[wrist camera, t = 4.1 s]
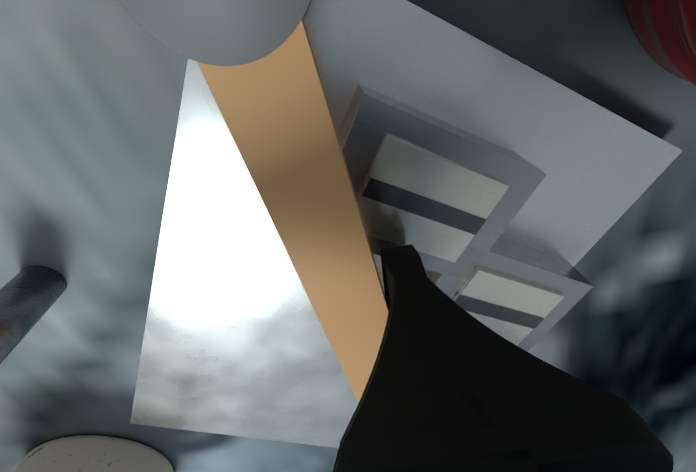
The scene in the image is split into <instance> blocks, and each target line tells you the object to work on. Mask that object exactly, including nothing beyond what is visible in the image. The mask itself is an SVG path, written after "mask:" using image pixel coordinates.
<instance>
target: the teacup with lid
mask: <svg viewBox="0 0 696 472" xmlns="http://www.w3.org/2000/svg"><path fill="white" fill-rule="evenodd" d="M15 472H173V468H172V466H171V464H170V462H169V461H168V460H167V459H166V458H165V457H164V456H163V455H162V454H161V453H159V452H158V451H156V450H154V449H153V448H151V447H148V446H146V445H144V444H141V443H138V442H135V441H131V440H127V439H123V438H117V437H110V436H99V435H81V436H70V437H64V438H59V439H55V440H52V441H49V442H46V443H44V444H42V445H40V446H38V447H36V448H34V449H33V450H31V451H30V452H29V453H28V454H27V455H26V456H25V457H24V458H23V460H22V461H21V463H20V464H19V466H18V467H17V469H16V470H15Z"/></svg>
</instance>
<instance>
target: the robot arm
mask: <svg viewBox="0 0 696 472" xmlns="http://www.w3.org/2000/svg"><path fill="white" fill-rule="evenodd" d="M380 255H381V265H382V274H383V284H384V293H385V298H386V302H387V306H388V310H389V312H388V317H387V322H386V326H385V330H384V334H383V338H382V342H381V345H380V348H379V351H378V354H377V358H376V361H375V363H374V366H373V369H372V372H371V374H370V377H369V379H368V382H367V384H366V387H365V389H364V392H363V394H362V397H361V399H360V401H359V403H358V406H357V408H356V410H355V412H354V414H353V416H352V418H351V420H350V422H349V424H348V426H347V428H346V430H345V432H344V434H343V436H342V438H341V441H340V445H339V449H338V453H337V457H336V461H335V465H334V470H333V472H672V470H673V456H672V454H671V453H670V452H669V451H668V450H667V448H666V447H665V446H664V445H663V443H662V442H661V441H660V440H659V438H658V437H657V436H656V435H655V433H654V432H653V431H652V430H651V428H650V427H649V426H648V425H647V424H646V422H645V421H644V420H643V419H642V418H641V417H640V416H639V415H638V414H637V413H636V412H635V411H634V410H633V409H632V408H631V406H630V405H629V404H628V403H627V402H626V401H625V400H624V399H622V398H620V397H617V396H615V395H613V394H611V393H609V392H606V391H604V390H602V389H600V388H598V387H596V386H593V385H591V384H589V383H587V382H585V381H582V380H580V379H578V378H576V377H574V376H572V375H569V374H567V373H565V372H564V371H562V370H560V369H558V368H556V367H554V366H552V365H550V364H548V363H546V362H544V361H542V360H541V359H539V358H537V357H535V356H533V355H532V354H530V353H528V352H527V351H525V350H523V349H522V348H520V347H518V346H517V345H515V344H513V343H512V342H510V341H508V340H507V339H505V338H503V337H502V336H500V335H499V334H497V333H496V332H494V331H493V330H491V329H490V328H488V327H487V326H485V325H484V324H483V323H481V322H480V321H478V320H477V319H476V318H474V317H473V316H472V315H470V314H469V313H468V312H467V311H465V310H464V309H463V308H462V307H460V306H459V305H458V304H457V303H456V302H454V301H453V300H452V299H451V298H450V297H448V296H447V295H446V294H445V293H444V292H443V291H442V290H441V289H440V288H439V287H438V286H436V285H435V284H434V283H433V282H432V281H431V280H430V279H429V278H428V277H427V275H426V272H425V269H424V266H423V263H422V260H421V257H420V255H419V254H418V252H417V250H416V249H415V248H414V246H413V245H412V244H410V245H404V246H398V247H391V248H385V249H380Z"/></svg>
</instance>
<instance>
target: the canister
mask: <svg viewBox="0 0 696 472" xmlns="http://www.w3.org/2000/svg"><path fill="white" fill-rule="evenodd" d="M623 1H624V5H625V9H626V12H627V15H628V18H629V21H630V23H631V26H632V28H633V30H634V32H635V34H636V36H637V38H638V40H639V41H640V43H641V44H642V46H643V47H644V49H645V50H646V51H647V53H648V54H649V55H650V56H651V57H652V58H653V59H654V60H655V61H656V62H657V63H658V64H659V65H660V66H662V67H663V68H664V69H666V70H667V71H668V72H670V73H672V74H674V75H676V76H677V77H679V78H682V79H684V80H687V81H690V82H691V83H693V84H694V85H695V86H696V0H623Z"/></svg>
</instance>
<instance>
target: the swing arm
mask: <svg viewBox="0 0 696 472" xmlns="http://www.w3.org/2000/svg"><path fill="white" fill-rule="evenodd" d="M119 2H120V3H121V5H122V6H123V7H124V9H125V10H126V11H127V12H128V13H129V15H130V16H131V17H132V18H133V19H134V20H135V21H136V22H137V24H138V25H139V26H141V27H142V28H143V29H144V30H145V31H146V32H147V33H148V34H149V35H150V36H152V37H153V38H154V39H156V40H157V41H158V42H160V43H161V44H162V45H164V46H165V47H167V48H169V49H170V50H172V51H174V52H175V53H177V54H179V55H182V56H184V57H186V58H188V59H191V60H194V61H197V63H198V65H199V68H200V70H201V72H202V74H203V76H204V78H205V80H206V82H207V85H208V87H209V89H210V91H211V93H212V95H213V97H214V99H215V101H216V104H217V106H218V108H219V110H220V112H221V114H222V116H223V118H224V120H225V123H226V125H227V127H228V129H229V131H230V133H231V135H232V137H233V140H234V142H235V144H236V146H237V148H238V150H239V152H240V154H241V156H242V159H243V161H244V163H245V165H246V167H247V169H248V171H249V173H250V176H251V178H252V180H253V182H254V184H255V186H256V188H257V190H258V192H259V195H260V197H261V199H262V201H263V203H264V205H265V207H266V209H267V211H268V214H269V216H270V218H271V220H272V222H273V224H274V226H275V228H276V231H277V233H278V235H279V237H280V239H281V241H282V243H283V245H284V247H285V250H286V252H287V254H288V256H289V258H290V260H291V262H292V264H293V267H294V269H295V271H296V273H297V275H298V277H299V279H300V281H301V283H302V286H303V288H304V290H305V292H306V294H307V296H308V298H309V300H310V302H311V305H312V307H313V309H314V311H315V313H316V315H317V317H318V319H319V322H320V324H321V326H322V328H323V330H324V332H325V334H326V336H327V338H328V341H329V343H330V345H331V347H332V349H333V351H334V353H335V355H336V358H337V360H338V362H339V364H340V366H341V368H342V370H343V372H344V374H345V377H346V379H347V381H348V383H349V385H350V387H351V389H352V391H353V393H354V396H355V398H356V400H357V402H358V403H359V401H360V399H361V397H362V394H363V392H364V389H365V387H366V384H367V382H368V379H369V377H370V374H371V372H372V369H373V366H374V363H375V361H376V358H377V354H378V351H379V348H380V345H381V342H382V338H383V334H384V330H385V326H386V322H387V317H388V312H389V310H388V306H387V302H386V298H385V294H384V291H383V288H382V284H381V281H380V277H379V274H378V271H377V267H376V264H375V261H374V257H373V254H372V250H371V247H370V244H369V240H368V237H367V233H366V230H365V227H364V223H363V220H362V216H361V213H360V210H359V206H358V203H357V199H356V196H355V193H354V189H353V186H352V182H351V179H350V176H349V172H348V169H347V165H346V162H345V159H344V155H343V152H342V148H341V145H340V142H339V138H338V135H337V131H336V128H335V125H334V121H333V118H332V115H331V111H330V108H329V104H328V101H327V98H326V94H325V91H324V87H323V84H322V81H321V77H320V74H319V70H318V67H317V64H316V60H315V57H314V53H313V50H312V47H311V43H310V40H309V36H308V33H307V30H306V26H305V23H304V17H305V15H306V13H307V11H308V9H309V6H310V3H311V0H119Z"/></svg>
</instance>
